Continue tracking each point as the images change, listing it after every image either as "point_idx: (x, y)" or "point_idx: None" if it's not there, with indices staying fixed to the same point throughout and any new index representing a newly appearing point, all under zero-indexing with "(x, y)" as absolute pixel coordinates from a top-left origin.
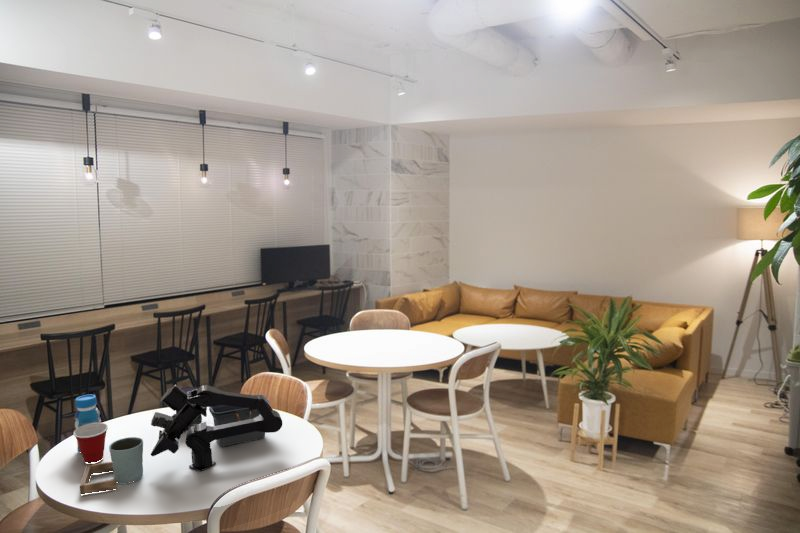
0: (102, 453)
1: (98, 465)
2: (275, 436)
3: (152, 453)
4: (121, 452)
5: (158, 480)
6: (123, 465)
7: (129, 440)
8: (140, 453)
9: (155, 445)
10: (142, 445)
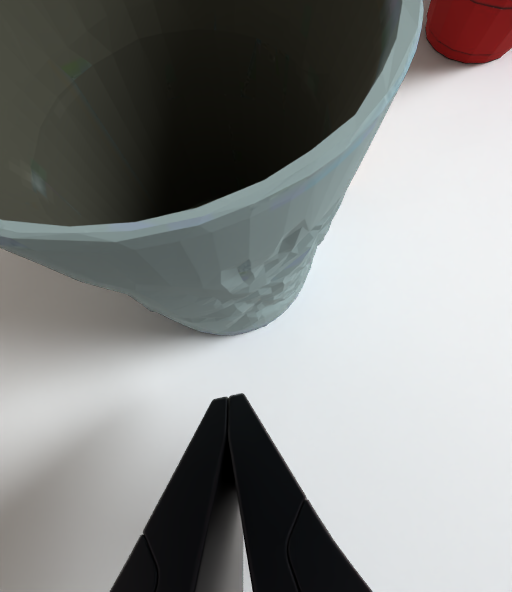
0: (499, 21)
1: None
2: None
3: (205, 426)
4: None
5: (141, 466)
6: (75, 188)
7: (371, 14)
8: (111, 288)
9: (277, 482)
10: (122, 269)
